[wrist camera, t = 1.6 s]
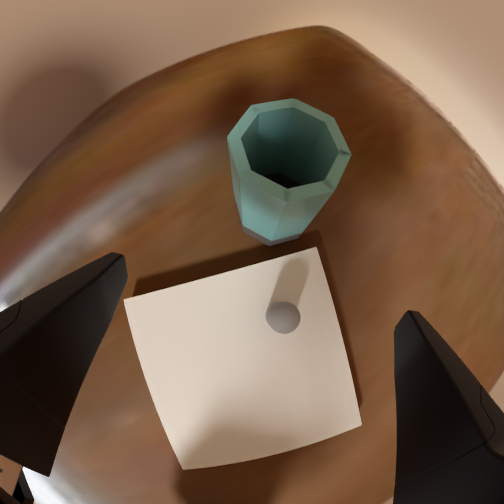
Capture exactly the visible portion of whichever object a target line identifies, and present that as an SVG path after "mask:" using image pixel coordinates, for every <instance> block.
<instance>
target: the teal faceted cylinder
mask: <svg viewBox="0 0 504 504" xmlns="http://www.w3.org/2000/svg"><path fill="white" fill-rule="evenodd" d="M227 141H228V149H229V157H230V165H231V173H232V181H233V189H234V196H235V204H236V208H237V212H238V215H239V219H240V222H241V226H242V230H243V232H244V233H246V234H248V235H249V236H251V237H253V238H255V239H257V240H258V241H260V242H262V243H264V244H266V245H268V246H273V245H277V244H280V243H284V242H288V241H291V240H295V239H298V238H299V236H300V235H301V234H302V232H303V231H304V230H305V229H306V227H307V226H308V225H309V223H310V222H311V221H312V220H313V218H314V217H315V216H316V214H317V213H318V212H319V211H320V209H321V208H322V207H323V205H324V204H325V203H326V201H327V200H328V199H329V198H330V196H331V195H332V194H333V192H334V191H335V189H336V187H337V185H338V183H339V181H340V178H341V176H342V174H343V172H344V170H345V168H346V166H347V164H348V161H349V159H350V157H351V155H352V154H351V152H350V150H349V148H348V146H347V143H346V141H345V139H344V137H343V135H342V133H341V131H340V129H339V127H338V125H337V123H336V121H335V119H334V117H332V116H330V115H328V114H326V113H324V112H322V111H320V110H318V109H316V108H314V107H312V106H310V105H308V104H305V103H303V102H301V101H299V100H297V99H294V98H292V99H285V100H278V101H272V102H266V103H261V104H255V105H251V106H250V107H249V109H248V110H247V111H246V112H245V114H244V115H243V116H242V118H241V119H240V120H239V122H238V123H237V124H236V125H235V127H234V128H233V129H232V131H231V132H230V134H229V135H228V136H227ZM277 183H278V184H277ZM279 184H280V185H279ZM286 188H287V189H286Z"/></svg>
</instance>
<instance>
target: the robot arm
mask: <svg viewBox="0 0 504 504" xmlns="http://www.w3.org/2000/svg"><path fill="white" fill-rule="evenodd" d="M127 279H128V274H127V268H126V262H125V257H124V255H122V254H119V253H114V252H111V253H109V254H107V255H105V256H103V257H101V258H99V259H97V260H95V261H93V262H91V263H89V264H87V265H85V266H83V267H81V268H79V269H77V270H75V271H73V272H72V273H70V274H68V275H66V276H64V277H62V278H60V279H58V280H56V281H55V282H53V283H51V284H49V285H47V286H45V287H44V288H42V289H40V290H38V291H36V292H35V293H33V294H31V295H29V296H27V297H26V298H24V299H23V300H20V301H19V302H17V303H15V304H14V305H12V306H10V307H8V308H7V309H5V310H3V311H1V312H0V504H33V502H34V498H33V496H32V493H31V491H30V488H29V486H28V483H27V481H26V478H25V475H24V473H23V470H22V468H23V466H24V467H26V468H28V469H31V470H33V471H35V472H38V473H40V474H42V475H45V476H47V477H49V476H50V473H51V470H52V466H53V463H54V460H55V456H56V453H57V450H58V447H59V444H60V441H61V438H62V435H63V432H64V430H65V426H66V424H67V421H68V418H69V416H70V413H71V410H72V408H73V405H74V403H75V400H76V398H77V395H78V393H79V390H80V388H81V386H82V383H83V381H84V378H85V376H86V374H87V372H88V369H89V367H90V365H91V363H92V360H93V358H94V356H95V354H96V352H97V350H98V348H99V345H100V343H101V341H102V339H103V337H104V335H105V333H106V331H107V329H108V327H109V325H110V323H111V320H112V318H113V316H114V313H115V310H116V308H117V305H118V303H119V300H120V297H121V295H122V292H123V290H124V288H125V285H126V283H127ZM394 378H395V393H396V416H397V455H396V477H395V488H394V499H393V504H504V413H503V411H501V409H500V408H499V407H498V406H497V404H496V403H495V402H494V400H493V399H492V398H491V397H490V395H489V394H488V393H487V392H486V390H485V389H484V388H483V386H482V385H480V382H479V381H478V380H477V379H476V377H475V376H474V375H473V374H472V372H471V371H470V370H469V369H468V367H467V366H466V365H465V364H464V363H463V361H462V360H461V359H460V358H459V357H458V355H457V354H456V353H455V352H454V351H453V350H452V348H451V347H450V346H449V345H448V344H447V343H446V341H445V340H444V339H443V338H442V337H441V336H440V335H439V333H438V332H437V331H436V330H435V329H434V328H433V327H432V326H431V325H430V323H429V322H428V321H427V320H426V319H425V318H424V317H423V316H422V315H421V314H420V313H419V312H417V311H411V310H408V311H407V312H405V314H404V315H403V317H402V318H401V320H400V321H399V323H398V324H397V325H396V327H395V330H394Z"/></svg>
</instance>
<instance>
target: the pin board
mask: <svg viewBox="0 0 504 504" xmlns="http://www.w3.org/2000/svg"><path fill="white" fill-rule="evenodd" d="M124 304H125V308H126V312H127V317H128V321H129V324H130V328H131V332H132V336H133V339H134V343H135V347H136V350H137V353H138V357H139V360H140V363H141V366H142V370H143V373H144V376H145V379H146V382H147V385H148V387H149V390H150V393H151V396H152V399H153V401H154V404H155V407H156V409H157V412H158V414H159V417H160V419H161V422H162V424H163V427H164V429H165V432H166V434H167V436H168V439H169V441H170V443H171V445H172V448H173V450H174V452H175V454H176V456H177V458H178V460H179V463H180V465H181V467H182V469H183V470H187V469H197V468H206V467H214V466H221V465H227V464H233V463H238V462H244V461H249V460H254V459H258V458H263V457H267V456H271V455H275V454H279V453H283V452H286V451H290V450H293V449H297V448H300V447H304V446H307V445H310V444H313V443H316V442H319V441H322V440H325V439H328V438H330V437H333V436H336V435H338V434H341V433H344V432H346V431H349V430H351V429H354V428H356V427H358V426H361V425H362V423H361V418H360V413H359V408H358V403H357V398H356V394H355V389H354V384H353V380H352V375H351V371H350V367H349V363H348V358H347V354H346V350H345V346H344V342H343V338H342V334H341V330H340V326H339V323H338V319H337V315H336V311H335V308H334V304H333V301H332V297H331V293H330V290H329V286H328V283H327V280H326V276H325V273H324V270H323V266H322V263H321V260H320V256H319V253H318V250H317V247H314V248H311V249H307V250H304V251H300V252H297V253H293V254H290V255H286V256H283V257H279V258H275V259H272V260H268V261H265V262H261V263H258V264H254V265H250V266H247V267H243V268H240V269H236V270H232V271H229V272H225V273H221V274H218V275H214V276H210V277H207V278H203V279H199V280H196V281H192V282H188V283H185V284H181V285H177V286H173V287H170V288H166V289H162V290H158V291H155V292H151V293H147V294H143V295H139V296H136V297H132V298H128V299H124Z"/></svg>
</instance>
